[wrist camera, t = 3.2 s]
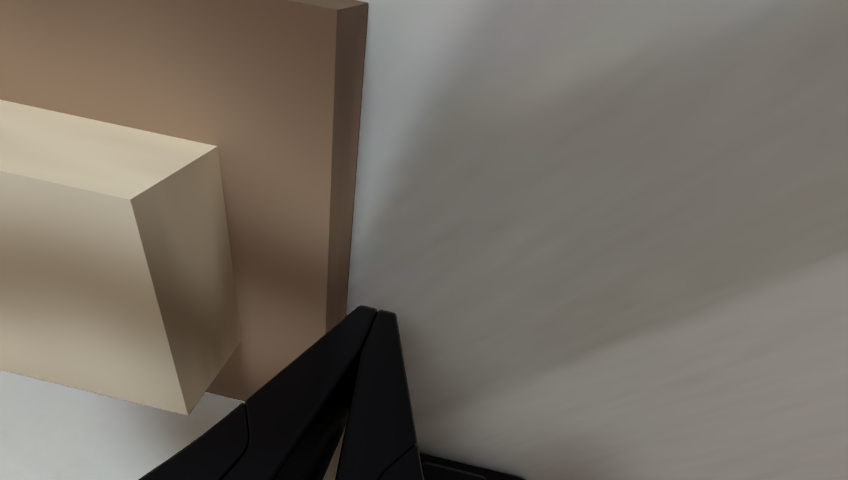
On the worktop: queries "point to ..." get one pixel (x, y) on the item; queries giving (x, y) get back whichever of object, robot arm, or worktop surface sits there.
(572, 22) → the worktop surface
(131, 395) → the beech tile
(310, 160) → the walnut board
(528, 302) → the worktop surface
